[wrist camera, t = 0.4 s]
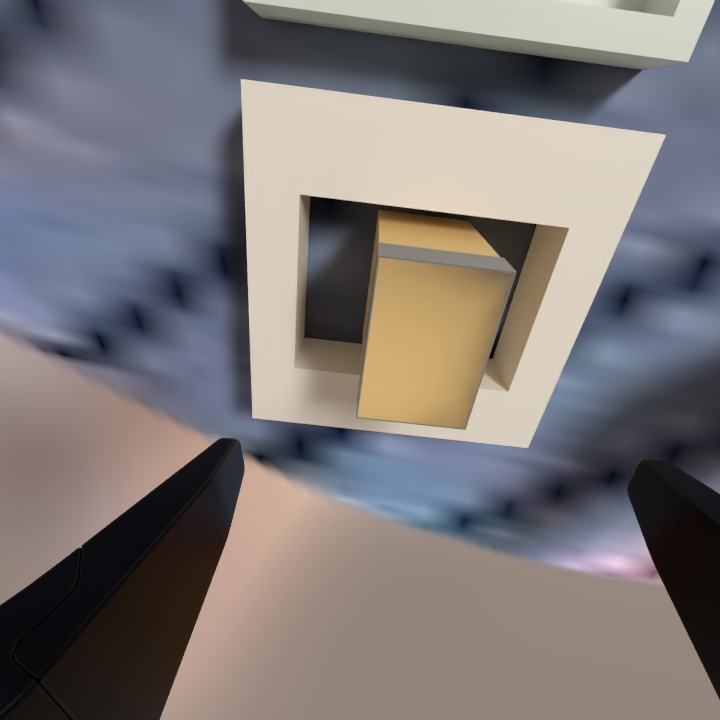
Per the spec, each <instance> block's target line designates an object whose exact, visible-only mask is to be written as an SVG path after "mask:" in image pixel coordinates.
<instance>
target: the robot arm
mask: <svg viewBox="0 0 720 720" xmlns="http://www.w3.org/2000/svg"><path fill="white" fill-rule="evenodd" d="M243 475H244V460H243V455H242V450H241V444H240V442H239V440H238V439H234V438H221V439H219V440H217V441H216V442H215V443H213V444H212V445H211V446H210V447H208V448H207V449H206V450H204V451H203V452H202V453H201V454H199V455H198V456H197V457H196V458H194V459H193V460H191V461H190V462H189V463H188V464H186V465H185V466H184V467H183V468H181V469H180V470H179V471H177V472H176V473H175V474H173V475H172V476H171V477H170V478H168V479H167V480H166V481H164V482H163V483H162V484H161V485H159V486H158V487H157V488H155V489H154V490H153V491H151V492H150V493H149V494H148V495H146V496H145V497H144V498H142V499H141V500H140V501H139V502H137V503H136V504H135V505H133V506H132V507H131V508H129V509H128V510H127V511H126V512H124V513H123V514H122V515H120V516H119V517H118V518H117V519H115V520H114V521H113V522H111V523H110V524H109V525H107V526H106V527H105V528H104V529H102V530H101V531H100V532H99V533H97V534H96V535H95V536H93V537H92V538H91V539H90V540H88V541H87V542H86V543H84V544H83V545H82V548H78V549H76V550H75V551H74V552H72V553H71V554H70V555H69V556H67V557H66V558H65V559H63V560H62V561H61V562H60V563H58V564H57V565H56V566H54V567H53V568H51V569H50V570H49V571H48V572H46V573H45V574H43V575H42V576H41V577H39V578H38V579H37V580H36V581H34V582H33V583H31V584H30V585H29V586H27V587H26V588H24V589H23V590H21V591H20V592H19V593H17V594H16V595H14V596H13V597H11V598H10V599H9V600H7V601H6V602H5V603H3V604H1V605H0V720H160V717H161V714H162V711H163V709H164V706H165V704H166V701H167V698H168V696H169V693H170V690H171V688H172V685H173V682H174V680H175V677H176V674H177V672H178V669H179V666H180V664H181V661H182V658H183V656H184V653H185V650H186V647H187V645H188V642H189V639H190V637H191V634H192V632H193V629H194V626H195V623H196V621H197V618H198V615H199V613H200V610H201V607H202V605H203V602H204V599H205V597H206V594H207V591H208V589H209V586H210V583H211V581H212V578H213V575H214V573H215V570H216V567H217V565H218V562H219V559H220V557H221V554H222V551H223V549H224V546H225V543H226V540H227V537H228V534H229V530H230V527H231V523H232V519H233V515H234V511H235V507H236V503H237V499H238V495H239V491H240V487H241V483H242V479H243ZM627 491H628V496H629V499H630V501H631V504H632V507H633V509H634V512H635V515H636V518H637V520H638V523H639V526H640V529H641V531H642V534H643V537H644V539H645V542H646V545H647V548H648V550H649V553H650V555H651V558H652V560H653V563H654V565H655V567H656V569H657V571H658V573H659V576H660V578H661V580H662V582H663V584H664V586H665V588H666V590H667V592H668V594H669V596H670V598H671V600H672V602H673V604H674V606H675V608H676V610H677V613H678V615H679V617H680V619H681V621H682V623H683V625H684V627H685V629H686V631H687V633H688V635H689V637H690V639H691V641H692V644H693V645H694V648H695V650H696V652H697V654H698V656H699V658H700V660H701V662H702V664H703V666H704V668H705V670H706V672H707V674H708V676H709V679H710V681H711V683H712V684H713V687H714V689H715V691H716V693H717V695H718V697H719V699H720V494H719V493H717V492H716V491H714V490H712V489H711V488H709V487H708V486H706V485H704V484H703V483H701V482H700V481H698V480H696V479H695V478H693V477H692V476H690V475H688V474H687V473H685V472H684V471H682V470H680V469H679V468H677V467H676V466H674V465H672V464H671V463H669V462H668V461H666V460H664V459H659V458H642V459H641V460H640V461H639V462H638V464H637V466H636V468H635V470H634V472H633V474H632V476H631V478H630V480H629V482H628V485H627Z"/></svg>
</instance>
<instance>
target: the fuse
mask: <svg viewBox="0 0 720 720" xmlns="http://www.w3.org/2000/svg"><path fill="white" fill-rule="evenodd" d="M516 273H517V272H516V271H515V270H514V269H513V267H512V266H511V265H510V264H509V263H508V262H507V261H506V260H505V258H502V257H500V256H499V255H498V254H497V253H496V252H495V251H494V250H493V248H492V247H491V246H490V245H489V244H488V243H487V242H486V240H485V239H484V238H483V237H482V236H481V235H480V234H479V232H478V231H477V230H476V229H475V228H474V227H473V226H472V224H471V223H470V222H469V221H466V220H458V219H450V218H442V217H434V216H426V215H418V214H410V213H402V212H394V211H386V210H378V218H377V225H376V233H375V241H374V249H373V256H372V264H371V272H370V280H369V287H368V295H367V303H366V311H365V318H364V326H363V337H362V353H361V369H360V380H359V388H358V395H357V410H356V418H362V419H371V420H380V421H389V422H398V423H407V424H416V425H425V426H435V427H444V428H453V429H462V430H466V427H467V424H468V421H469V418H470V415H471V412H472V409H473V405H474V402H475V399H476V396H477V393H478V390H479V387H480V384H481V381H482V378H483V375H484V372H485V368H486V365H487V362H488V359H489V356H490V353H491V350H492V347H493V344H494V341H495V338H496V335H497V331H498V328H499V325H500V322H501V319H502V316H503V313H504V310H505V307H506V304H507V301H508V297H509V294H510V291H511V288H512V285H513V282H514V279H515V276H516Z"/></svg>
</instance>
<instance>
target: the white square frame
mask: <svg viewBox="0 0 720 720" xmlns="http://www.w3.org/2000/svg"><path fill="white" fill-rule="evenodd" d="M241 98H242V127H243V156H244V185H245V214H246V243H247V272H248V301H249V330H250V360H251V389H252V418H257V419H266V420H275V421H284V422H293V423H303V424H312V425H321V426H330V427H340V428H349V429H358V430H367V431H376V432H386V433H395V434H404V435H413V436H423V437H432V438H441V439H450V440H459V441H469V442H478V443H487V444H496V445H506V446H515V447H524V448H528V447H529V444H530V442H531V440H532V438H533V435H534V433H535V431H536V429H537V426H538V424H539V422H540V419H541V417H542V415H543V413H544V410H545V408H546V406H547V404H548V401H549V399H550V397H551V395H552V392H553V390H554V388H555V385H556V383H557V381H558V379H559V376H560V374H561V372H562V370H563V367H564V365H565V363H566V361H567V358H568V356H569V354H570V351H571V349H572V347H573V345H574V342H575V340H576V338H577V336H578V333H579V331H580V329H581V327H582V324H583V322H584V320H585V318H586V315H587V313H588V311H589V308H590V306H591V304H592V302H593V299H594V297H595V295H596V293H597V290H598V288H599V286H600V284H601V281H602V279H603V277H604V274H605V272H606V270H607V268H608V265H609V263H610V261H611V259H612V256H613V254H614V252H615V250H616V247H617V245H618V243H619V240H620V238H621V236H622V234H623V231H624V229H625V227H626V225H627V222H628V220H629V218H630V216H631V213H632V211H633V209H634V206H635V204H636V202H637V200H638V197H639V195H640V193H641V191H642V188H643V186H644V184H645V182H646V179H647V177H648V175H649V172H650V170H651V168H652V166H653V163H654V161H655V159H656V157H657V154H658V152H659V150H660V148H661V145H662V143H663V141H664V138H665V136H666V135H662V134H655V133H647V132H640V131H632V130H624V129H617V128H609V127H602V126H594V125H586V124H579V123H571V122H564V121H556V120H549V119H541V118H533V117H526V116H518V115H511V114H503V113H495V112H488V111H480V110H473V109H465V108H457V107H450V106H442V105H435V104H427V103H419V102H412V101H404V100H397V99H389V98H381V97H374V96H366V95H359V94H351V93H344V92H336V91H328V90H321V89H313V88H306V87H298V86H290V85H283V84H275V83H268V82H260V81H252V80H245V79H241ZM311 196H316V197H324V198H332V199H340V200H348V201H357V202H365V203H373V204H381V205H389V206H397V207H405V208H413V209H421V210H429V211H437V212H445V213H453V214H461V215H469V216H477V217H485V218H493V219H501V220H509V221H517V222H526V223H534V224H537V225H536V229H535V232H534V235H533V238H532V241H531V244H530V247H529V250H528V253H527V256H526V259H525V262H524V265H523V268H522V271H521V274H520V277H519V280H518V283H517V286H516V289H515V292H514V295H513V298H512V301H511V304H510V308H509V311H508V314H507V317H506V320H505V323H504V326H503V329H502V332H501V335H500V338H499V341H498V344H497V347H496V350H495V353H494V356H493V359H488V362H487V365H486V368H485V372H484V375H483V378H482V381H481V384H480V387H479V390H478V393H477V396H476V399H475V402H474V405H473V409H472V412H471V415H470V418H469V421H468V424H467V427H466V430H462V429H453V428H444V427H435V426H425V425H416V424H407V423H398V422H389V421H380V420H371V419H362V418H356V410H357V395H358V388H359V380H360V369H361V353H362V344H358V343H350V342H341V341H332V340H323V339H315V338H306V337H304V331H305V309H306V287H307V264H308V242H309V220H310V197H311Z"/></svg>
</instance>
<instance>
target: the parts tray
mask: <svg viewBox="0 0 720 720" xmlns="http://www.w3.org/2000/svg"><path fill="white" fill-rule="evenodd" d="M714 1H715V0H243V2H244V3H246V4H247V5H248V6H249V7H250V8H251V9H253V10H254V11H255V12H256V13H257V14H258V15H259V16H261V17H262V18H265V19H272V20H279V21H287V22H294V23H301V24H309V25H316V26H323V27H331V28H338V29H345V30H353V31H360V32H367V33H375V34H382V35H389V36H397V37H404V38H412V39H419V40H426V41H434V42H441V43H448V44H456V45H463V46H470V47H478V48H485V49H492V50H500V51H507V52H514V53H522V54H529V55H536V56H544V57H551V58H558V59H566V60H573V61H581V62H588V63H595V64H603V65H610V66H617V67H625V68H632V69H639V70H646V69H652V68H658V67H663V66H669V65H675V64H680V63H686V62H688V61H689V59H690V57H691V54H692V52H693V50H694V47H695V45H696V43H697V40H698V38H699V36H700V33H701V31H702V29H703V27H704V24H705V22H706V20H707V17H708V15H709V13H710V10H711V8H712V6H713V3H714Z"/></svg>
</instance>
